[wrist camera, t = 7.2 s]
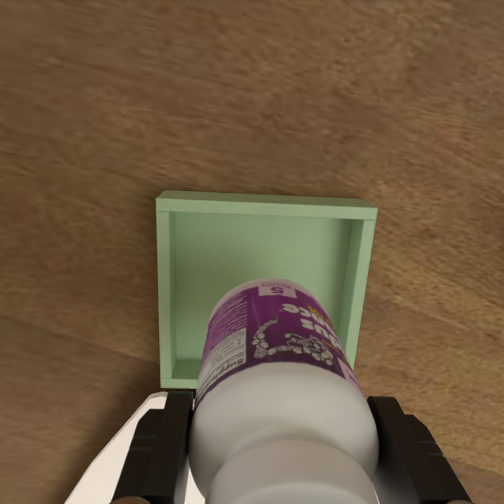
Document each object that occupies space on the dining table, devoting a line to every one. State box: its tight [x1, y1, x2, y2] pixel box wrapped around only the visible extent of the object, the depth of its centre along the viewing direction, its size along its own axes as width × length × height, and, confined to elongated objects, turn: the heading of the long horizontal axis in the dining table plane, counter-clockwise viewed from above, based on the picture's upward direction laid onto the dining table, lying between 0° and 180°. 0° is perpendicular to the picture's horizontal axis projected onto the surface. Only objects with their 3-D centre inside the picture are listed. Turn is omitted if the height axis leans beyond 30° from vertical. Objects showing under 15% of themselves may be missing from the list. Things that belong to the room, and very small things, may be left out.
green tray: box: [156, 190, 378, 389], centre depth 21 cm, size 10×10×2 cm
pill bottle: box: [188, 278, 379, 504], centre depth 13 cm, size 5×5×10 cm
